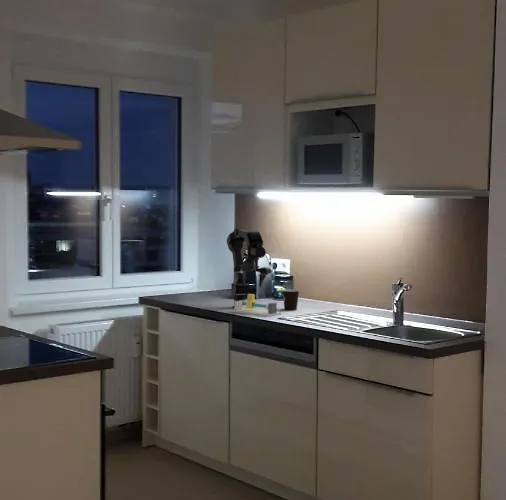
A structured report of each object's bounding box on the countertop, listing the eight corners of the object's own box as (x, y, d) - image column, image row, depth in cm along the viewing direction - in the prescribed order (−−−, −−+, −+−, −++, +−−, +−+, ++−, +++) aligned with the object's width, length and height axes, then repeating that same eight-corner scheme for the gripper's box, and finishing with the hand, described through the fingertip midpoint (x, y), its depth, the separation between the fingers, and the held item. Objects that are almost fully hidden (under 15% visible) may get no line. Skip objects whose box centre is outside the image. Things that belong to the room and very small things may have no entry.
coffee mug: (297, 311, 416) (297, 291, 415) (281, 310, 418) (281, 291, 417) (300, 307, 427) (300, 289, 426) (284, 307, 429) (284, 288, 428)
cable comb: (232, 311, 411) (232, 301, 410) (246, 309, 419) (247, 299, 419) (267, 316, 396) (267, 305, 395) (281, 314, 404) (281, 303, 404)
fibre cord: (238, 309, 413) (238, 299, 413) (242, 308, 416) (243, 298, 415) (271, 313, 399) (272, 303, 398) (276, 313, 402) (276, 303, 401)
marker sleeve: (246, 308, 409) (246, 294, 409) (251, 307, 412) (251, 293, 412) (250, 309, 407) (250, 294, 407) (255, 308, 410) (255, 294, 410)
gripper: (228, 256, 407) (228, 286, 408) (262, 258, 399) (261, 289, 400) (239, 254, 417) (238, 284, 418) (271, 256, 408) (271, 287, 410)
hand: (252, 286), depth 411 cm, fingers open, 9 cm apart
